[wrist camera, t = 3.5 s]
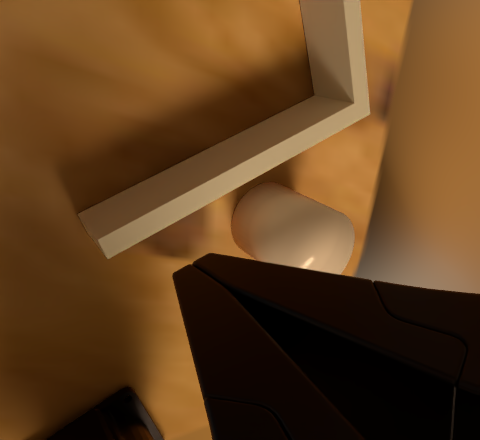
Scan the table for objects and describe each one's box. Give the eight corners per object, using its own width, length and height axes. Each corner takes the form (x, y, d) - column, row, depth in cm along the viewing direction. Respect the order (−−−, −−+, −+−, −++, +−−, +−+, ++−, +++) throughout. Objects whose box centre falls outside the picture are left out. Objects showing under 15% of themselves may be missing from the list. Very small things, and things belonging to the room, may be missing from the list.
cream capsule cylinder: (298, 230, 28) (358, 264, 24) (241, 266, 26) (296, 308, 22) (285, 169, 26) (349, 195, 22) (222, 204, 24) (279, 239, 20)
